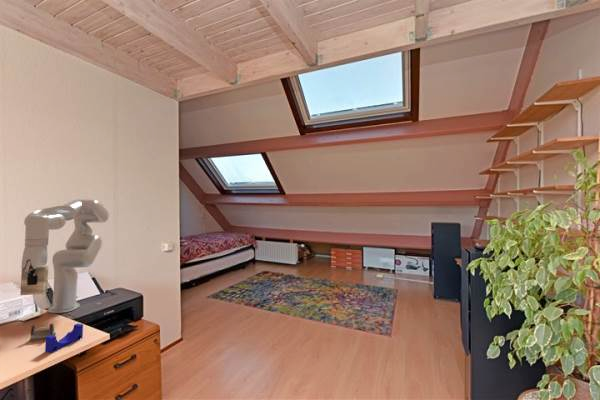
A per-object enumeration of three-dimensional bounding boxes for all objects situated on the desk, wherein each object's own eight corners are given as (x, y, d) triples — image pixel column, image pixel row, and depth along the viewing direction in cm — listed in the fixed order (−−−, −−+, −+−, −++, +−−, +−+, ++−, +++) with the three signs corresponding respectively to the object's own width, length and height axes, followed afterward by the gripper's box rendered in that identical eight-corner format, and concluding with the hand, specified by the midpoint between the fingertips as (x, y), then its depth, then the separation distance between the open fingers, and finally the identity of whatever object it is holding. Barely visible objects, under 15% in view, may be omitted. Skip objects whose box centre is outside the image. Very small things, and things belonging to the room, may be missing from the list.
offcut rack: (35, 336, 114) (36, 322, 114) (55, 334, 116) (56, 320, 116) (29, 341, 110) (30, 326, 110) (50, 339, 113) (51, 325, 113)
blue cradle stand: (74, 336, 116) (74, 322, 116) (82, 338, 115) (83, 324, 115) (42, 351, 104) (42, 336, 104) (50, 353, 103) (51, 338, 103)
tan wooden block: (24, 292, 119) (26, 266, 119) (47, 291, 122) (48, 265, 122) (20, 295, 117) (21, 267, 117) (43, 293, 119) (44, 267, 119)
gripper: (37, 239, 126) (35, 278, 126) (13, 245, 111) (11, 289, 110) (56, 239, 128) (54, 277, 128) (36, 245, 113) (34, 288, 113)
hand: (34, 283), depth 119 cm, fingers closed on tan wooden block, 3 cm apart
